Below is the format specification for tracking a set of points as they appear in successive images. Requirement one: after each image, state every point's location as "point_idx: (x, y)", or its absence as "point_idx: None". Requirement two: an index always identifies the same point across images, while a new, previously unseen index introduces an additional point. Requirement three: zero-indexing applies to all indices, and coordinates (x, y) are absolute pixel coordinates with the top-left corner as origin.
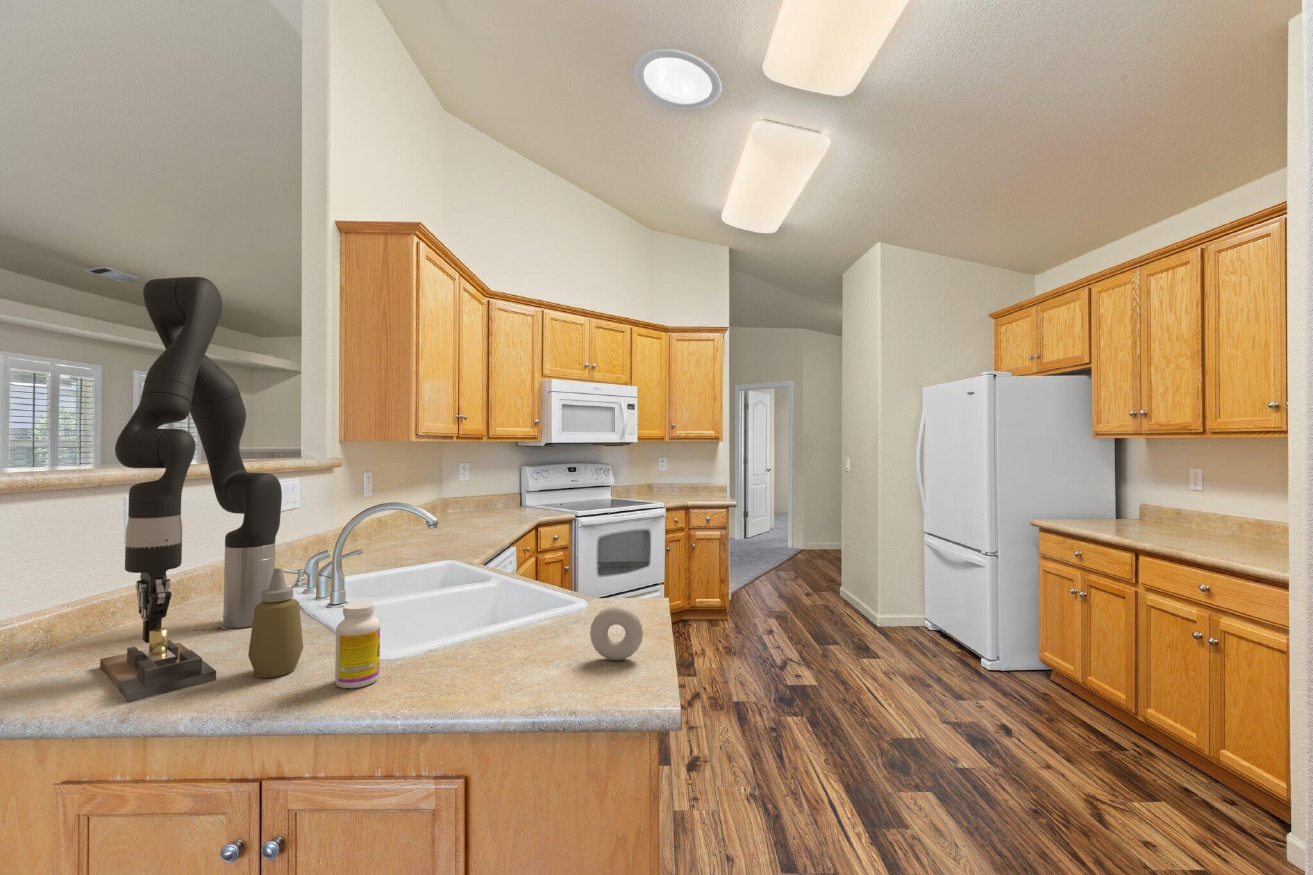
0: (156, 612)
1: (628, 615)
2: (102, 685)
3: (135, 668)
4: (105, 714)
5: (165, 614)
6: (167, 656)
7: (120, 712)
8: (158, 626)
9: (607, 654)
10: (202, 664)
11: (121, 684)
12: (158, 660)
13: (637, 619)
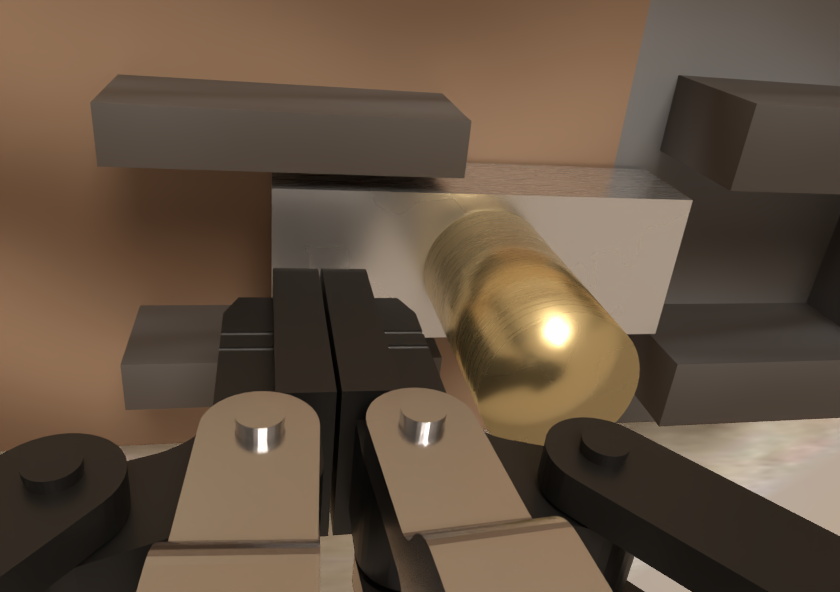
0: (627, 573)
1: None
2: None
3: None
4: (793, 457)
5: (668, 457)
6: (639, 243)
7: (831, 419)
8: (436, 378)
9: None
10: (735, 6)
11: (618, 419)
12: (660, 301)
13: None
